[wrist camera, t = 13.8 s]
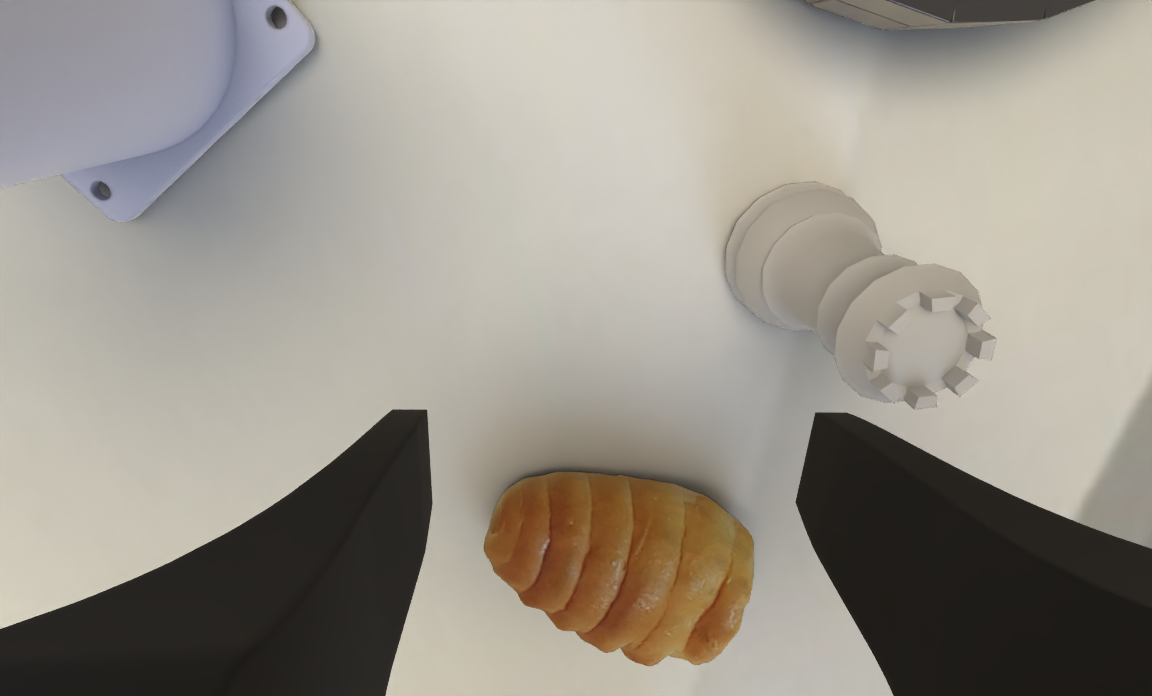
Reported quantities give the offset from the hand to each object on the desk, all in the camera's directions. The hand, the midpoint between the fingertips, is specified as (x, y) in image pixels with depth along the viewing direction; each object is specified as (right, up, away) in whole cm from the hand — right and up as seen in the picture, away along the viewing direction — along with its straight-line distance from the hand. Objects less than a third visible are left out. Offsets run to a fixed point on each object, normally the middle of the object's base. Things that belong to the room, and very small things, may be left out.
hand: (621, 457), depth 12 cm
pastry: (+1, -5, +13) cm, 14 cm away
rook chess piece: (+6, +5, +9) cm, 12 cm away
